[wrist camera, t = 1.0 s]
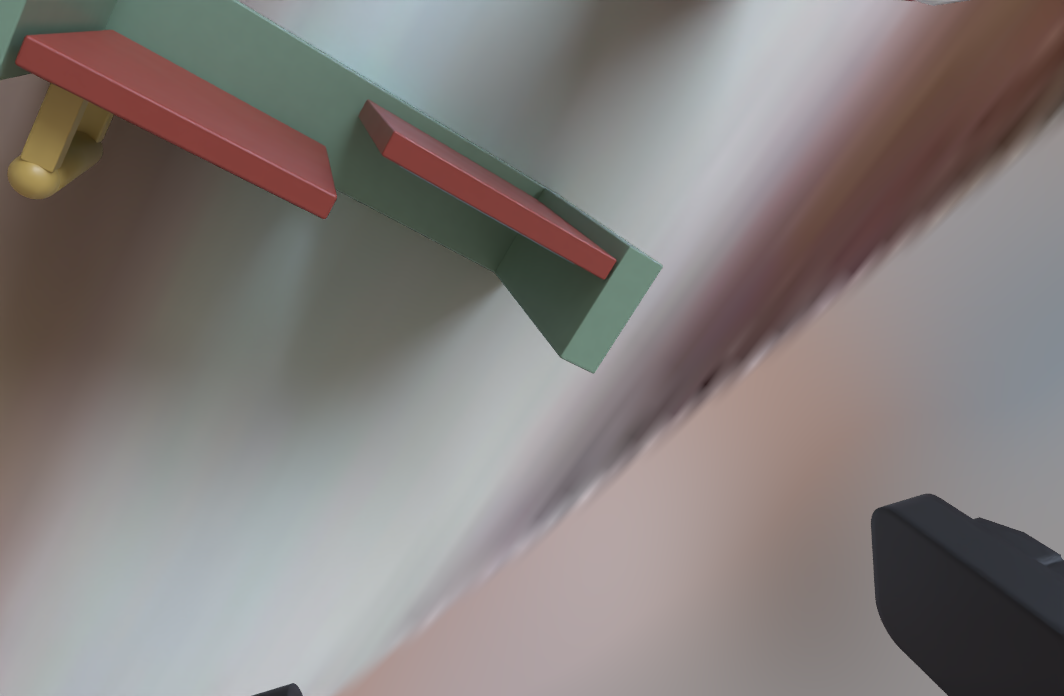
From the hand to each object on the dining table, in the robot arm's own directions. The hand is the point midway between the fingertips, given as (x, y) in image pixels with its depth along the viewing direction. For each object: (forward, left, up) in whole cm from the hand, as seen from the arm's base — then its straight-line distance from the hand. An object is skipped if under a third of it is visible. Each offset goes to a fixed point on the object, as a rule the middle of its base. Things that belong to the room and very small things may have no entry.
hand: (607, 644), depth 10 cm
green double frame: (-1, +4, -26) cm, 26 cm away
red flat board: (-7, +4, -24) cm, 25 cm away
